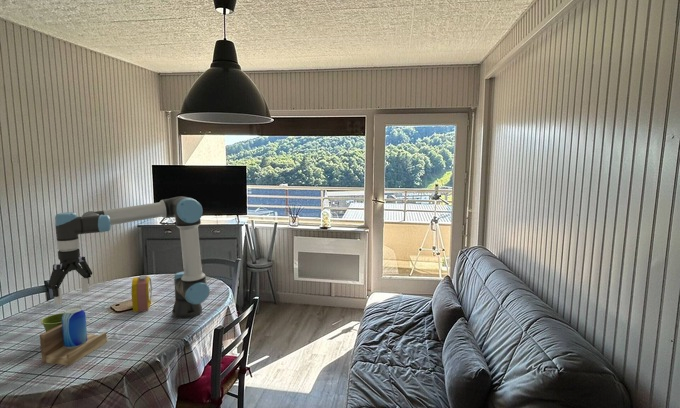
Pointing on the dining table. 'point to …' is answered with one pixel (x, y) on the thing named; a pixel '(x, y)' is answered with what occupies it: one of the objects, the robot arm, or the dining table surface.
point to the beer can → (74, 328)
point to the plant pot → (52, 321)
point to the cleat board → (59, 353)
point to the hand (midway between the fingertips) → (72, 297)
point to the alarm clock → (141, 293)
